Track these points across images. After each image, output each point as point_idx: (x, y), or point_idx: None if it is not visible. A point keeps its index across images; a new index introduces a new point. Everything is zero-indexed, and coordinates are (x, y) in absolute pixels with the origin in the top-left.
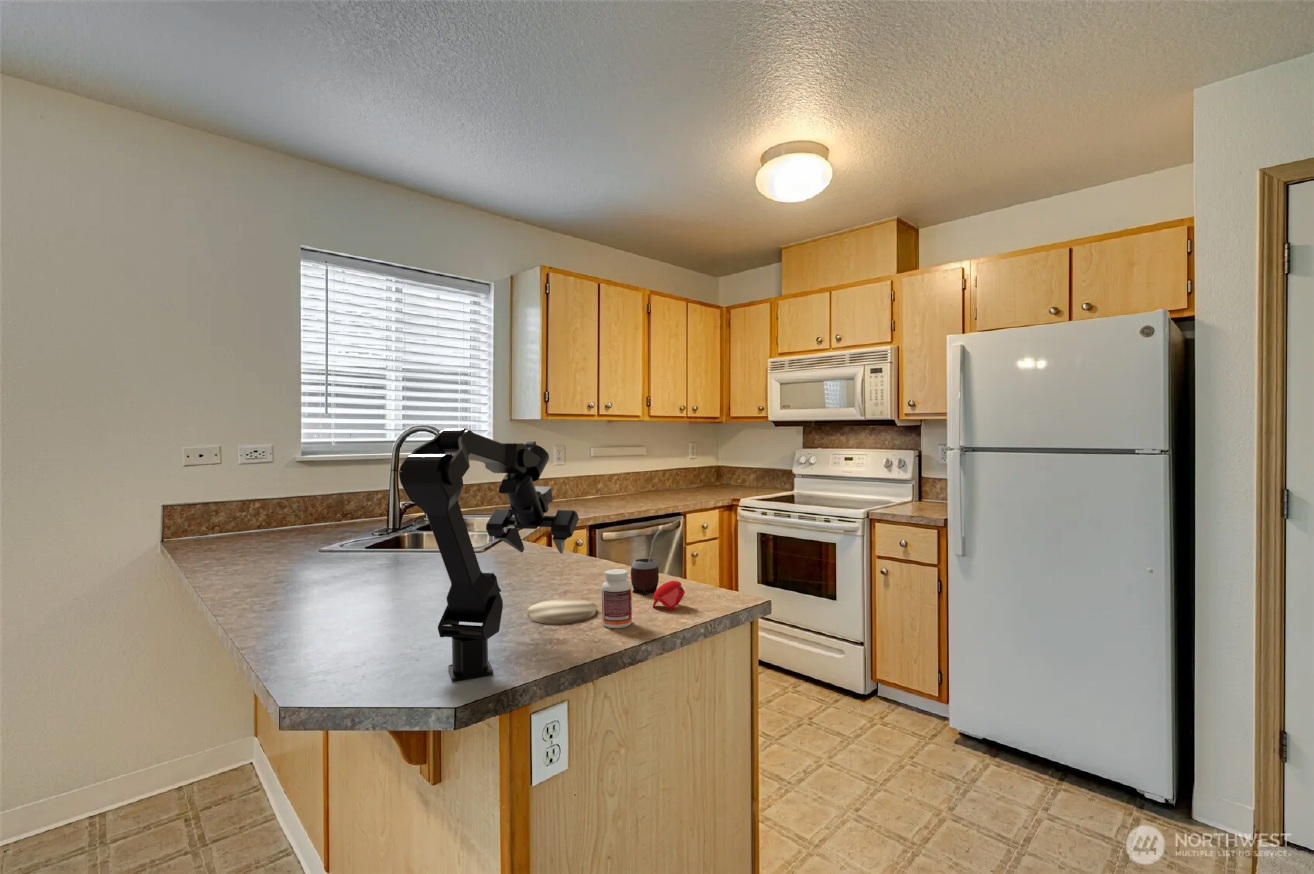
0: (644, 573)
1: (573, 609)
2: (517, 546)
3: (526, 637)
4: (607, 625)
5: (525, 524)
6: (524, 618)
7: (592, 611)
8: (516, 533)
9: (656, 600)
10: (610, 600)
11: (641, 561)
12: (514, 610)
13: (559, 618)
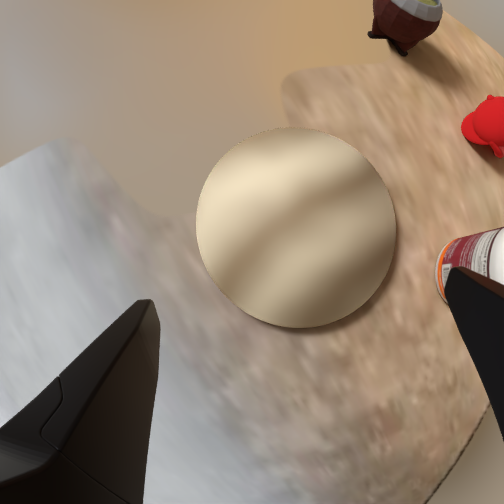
0: (428, 28)
1: (341, 227)
2: (149, 416)
3: (303, 428)
4: None
5: None
6: (213, 298)
7: (395, 228)
8: (91, 460)
9: (484, 141)
10: None
11: None
12: (144, 234)
13: (342, 317)
